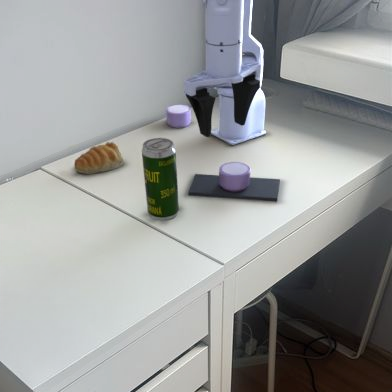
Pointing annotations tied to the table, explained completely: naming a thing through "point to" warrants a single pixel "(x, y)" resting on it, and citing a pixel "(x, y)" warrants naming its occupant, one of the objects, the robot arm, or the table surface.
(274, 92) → the table surface
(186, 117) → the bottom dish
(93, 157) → the pastry
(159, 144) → the green metal cylinder
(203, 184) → the felt mat
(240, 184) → the top dish
